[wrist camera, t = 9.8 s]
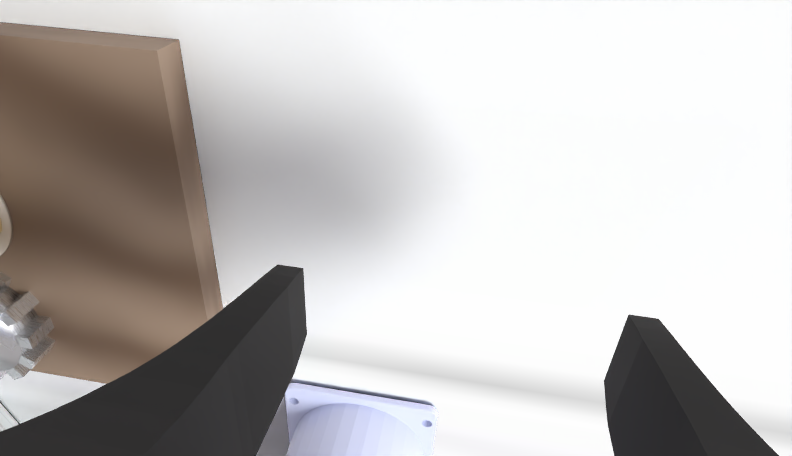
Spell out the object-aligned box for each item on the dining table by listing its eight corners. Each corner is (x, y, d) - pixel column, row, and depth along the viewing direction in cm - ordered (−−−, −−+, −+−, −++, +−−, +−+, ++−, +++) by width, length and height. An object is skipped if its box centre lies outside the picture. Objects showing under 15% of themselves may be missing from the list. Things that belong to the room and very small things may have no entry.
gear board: (234, 381, 30) (185, 474, 25) (-33, 336, 31) (-124, 415, 27) (178, 39, 20) (80, 89, 15) (-206, 2, 22) (-397, 36, 17)
